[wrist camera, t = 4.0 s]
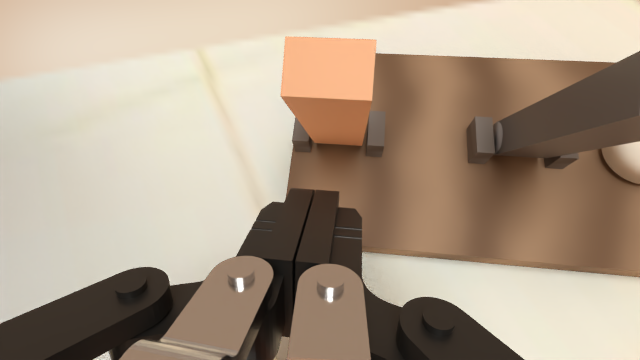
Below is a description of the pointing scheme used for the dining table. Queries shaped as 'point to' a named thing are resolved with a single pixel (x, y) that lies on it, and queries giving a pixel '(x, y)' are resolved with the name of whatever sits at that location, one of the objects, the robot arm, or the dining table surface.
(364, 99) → the orange block
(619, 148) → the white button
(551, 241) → the switch board
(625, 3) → the dining table surface
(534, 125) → the long grey beam
